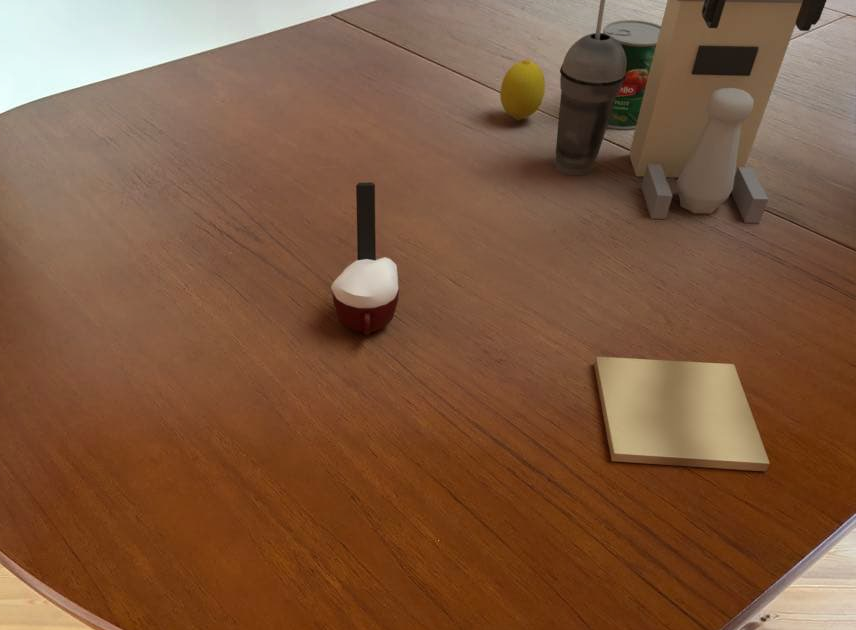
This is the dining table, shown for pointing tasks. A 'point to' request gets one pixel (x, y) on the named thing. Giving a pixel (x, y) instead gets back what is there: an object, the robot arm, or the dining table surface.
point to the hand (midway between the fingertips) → (756, 26)
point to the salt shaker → (715, 153)
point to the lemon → (522, 89)
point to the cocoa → (366, 275)
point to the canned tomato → (632, 68)
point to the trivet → (678, 414)
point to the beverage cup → (587, 98)
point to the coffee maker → (708, 91)
